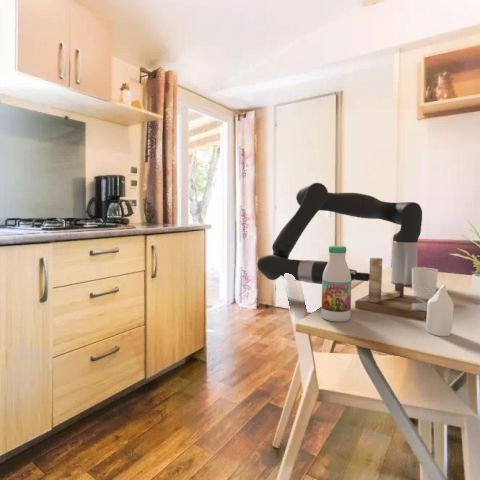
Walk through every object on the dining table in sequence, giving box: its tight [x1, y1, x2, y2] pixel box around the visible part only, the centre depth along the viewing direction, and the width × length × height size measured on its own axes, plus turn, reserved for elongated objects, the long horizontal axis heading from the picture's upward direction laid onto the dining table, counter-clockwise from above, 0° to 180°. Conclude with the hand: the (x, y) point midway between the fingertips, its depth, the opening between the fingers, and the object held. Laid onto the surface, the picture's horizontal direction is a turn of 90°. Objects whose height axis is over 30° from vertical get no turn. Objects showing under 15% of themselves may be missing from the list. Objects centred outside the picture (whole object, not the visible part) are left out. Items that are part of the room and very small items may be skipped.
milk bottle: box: [320, 245, 352, 323], centre depth 94 cm, size 8×8×20 cm
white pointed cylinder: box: [425, 284, 454, 337], centre depth 83 cm, size 6×12×6 cm
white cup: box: [411, 266, 439, 298], centre depth 117 cm, size 8×8×10 cm
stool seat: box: [354, 290, 431, 321], centre depth 106 cm, size 19×19×2 cm
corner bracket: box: [411, 300, 427, 311], centre depth 97 cm, size 4×4×2 cm
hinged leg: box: [368, 257, 405, 303], centre depth 106 cm, size 16×4×13 cm, turn 122°
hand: (369, 277), depth 104 cm, fingers closed
